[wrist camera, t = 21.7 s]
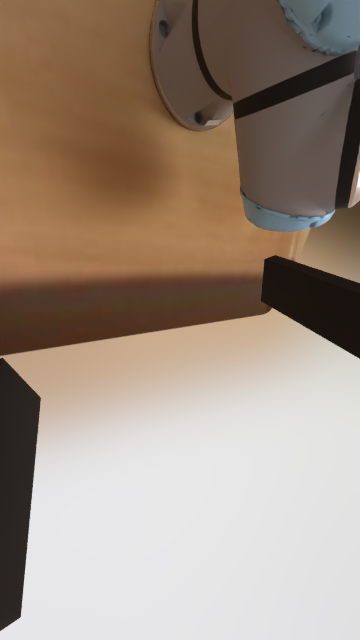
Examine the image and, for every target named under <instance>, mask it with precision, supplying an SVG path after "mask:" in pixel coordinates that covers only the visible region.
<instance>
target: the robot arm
mask: <svg viewBox="0 0 360 640" xmlns="http://www.w3.org/2000/svg"><path fill="white" fill-rule="evenodd" d="M359 46H360V0H157V3H156V6H155V9H154V12H153V16H152V22H151V29H150V59H151V66H152V72H153V76H154V80H155V84H156V87H157V89H158V92H159V94H160V97H161V99H162V101H163V103H164V105H165V106H166V108H167V110H168V111H169V112H170V114H171V115H172V116H173V117H174V119H175V120H177V121H178V122H179V123H180V124H181V125H183V126H184V127H186V128H188V129H190V130H194V131H206V130H209V129H212V128H214V127H216V126H218V125H220V124H221V123H222V122H224V121H225V120H226V119H227V118H228V117H229V116H230V115H231V114H232V113H233V112H234V119H235V120H234V122H235V132H236V141H237V151H238V161H239V172H240V183H241V186H240V193H241V196H242V198H243V204H244V211H245V215H246V217H247V219H248V220H249V221H250V222H251V223H253V224H254V225H255V226H257V227H259V228H262V229H265V230H270V231H279V232H294V231H302V230H306V229H308V227H317V226H320V225H322V224H324V223H325V222H327V221H328V220H329V219H330V218H331V216H332V214H333V213H334V212H335V209H340V208H349V207H352V206H353V205H354V204H356V203H357V202H358V201H359V200H360V78H359V79H356V80H355V79H354V70H355V63H356V57H357V51H358V47H359ZM261 301H262V302H264V303H265V304H267V305H269V306H270V307H272V308H274V309H276V310H277V311H279V312H281V313H282V314H284V315H286V316H288V317H289V318H291V319H293V320H294V321H296V322H298V323H300V324H301V325H303V326H305V327H306V328H308V329H310V330H312V331H313V332H315V333H317V334H319V335H321V336H322V337H324V338H326V339H327V340H329V341H330V342H332V343H334V344H336V345H337V346H339V347H341V348H342V349H344V350H346V351H348V352H349V353H351V354H353V355H354V356H356V357H358V358H359V359H360V283H357V282H354V281H351V280H348V279H345V278H342V277H339V276H336V275H333V274H330V273H327V272H324V271H321V270H318V269H315V268H312V267H309V266H306V265H303V264H300V263H297V262H294V261H291V260H288V259H285V258H282V257H279V256H276V255H275V256H272V257H269V258H267V259H265V261H264V272H263V283H262V295H261ZM40 400H41V398H40V397H39V396H38V394H37V393H36V392H35V391H34V390H33V389H32V388H31V387H30V386H29V385H28V384H27V383H26V382H25V381H24V380H23V379H22V378H21V377H20V376H19V374H18V373H17V372H16V371H15V370H14V369H13V368H12V367H11V366H10V365H9V364H8V363H7V362H6V361H5V360H4V359H3V358H1V359H0V631H1V630H2V629H4V628H5V627H7V626H8V625H10V624H11V623H13V622H14V621H16V620H17V619H19V618H20V617H21V608H22V596H23V585H24V574H25V564H26V553H27V542H28V531H29V519H30V510H31V499H32V488H33V477H34V466H35V455H36V444H37V433H38V423H39V412H40Z"/></svg>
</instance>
